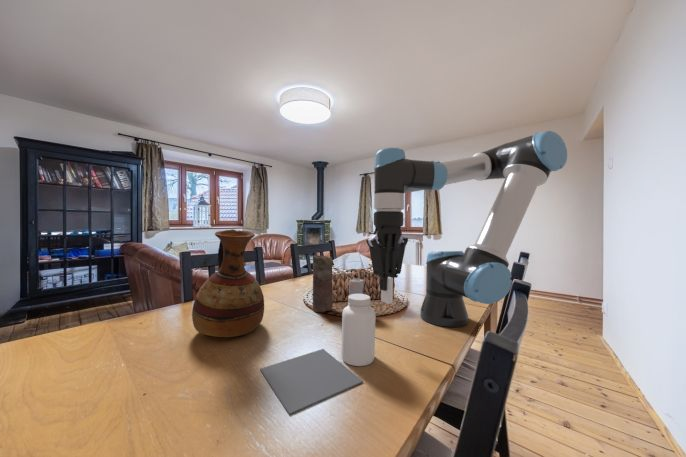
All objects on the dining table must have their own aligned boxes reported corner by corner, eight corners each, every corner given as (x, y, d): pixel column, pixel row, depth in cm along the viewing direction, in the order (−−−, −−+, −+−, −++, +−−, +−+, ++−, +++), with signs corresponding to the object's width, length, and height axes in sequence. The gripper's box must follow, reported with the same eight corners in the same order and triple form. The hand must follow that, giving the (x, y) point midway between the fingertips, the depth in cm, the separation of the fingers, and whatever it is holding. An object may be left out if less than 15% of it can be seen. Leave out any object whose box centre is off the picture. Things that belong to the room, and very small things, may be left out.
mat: (323, 349, 66) (323, 348, 66) (362, 382, 53) (362, 381, 53) (260, 369, 57) (260, 368, 57) (289, 415, 44) (289, 413, 44)
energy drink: (365, 312, 94) (365, 279, 94) (361, 317, 89) (362, 282, 89) (351, 310, 96) (351, 277, 96) (346, 315, 91) (347, 280, 91)
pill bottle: (373, 369, 58) (374, 302, 57) (338, 365, 60) (338, 300, 59) (376, 351, 66) (377, 292, 65) (344, 348, 67) (345, 290, 67)
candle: (312, 306, 100) (313, 254, 99) (332, 306, 100) (332, 254, 100) (312, 313, 92) (312, 257, 92) (332, 313, 93) (333, 257, 92)
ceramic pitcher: (202, 353, 64) (201, 231, 63) (185, 327, 79) (184, 228, 78) (275, 331, 77) (276, 230, 76) (249, 312, 92) (249, 228, 91)
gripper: (395, 212, 74) (394, 294, 74) (359, 210, 66) (358, 302, 67) (417, 211, 67) (415, 301, 68) (379, 209, 60) (377, 311, 61)
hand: (386, 302), depth 68 cm, fingers closed
